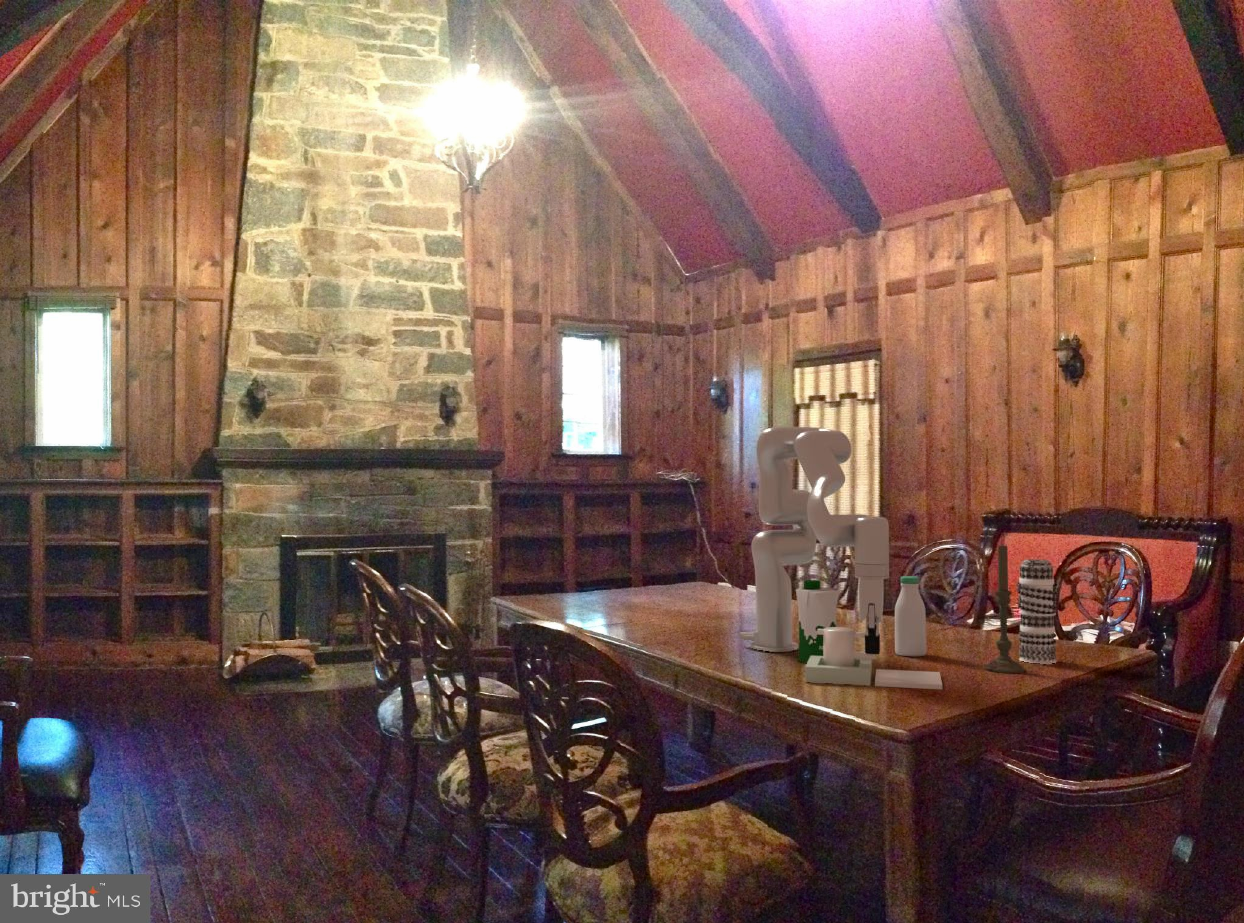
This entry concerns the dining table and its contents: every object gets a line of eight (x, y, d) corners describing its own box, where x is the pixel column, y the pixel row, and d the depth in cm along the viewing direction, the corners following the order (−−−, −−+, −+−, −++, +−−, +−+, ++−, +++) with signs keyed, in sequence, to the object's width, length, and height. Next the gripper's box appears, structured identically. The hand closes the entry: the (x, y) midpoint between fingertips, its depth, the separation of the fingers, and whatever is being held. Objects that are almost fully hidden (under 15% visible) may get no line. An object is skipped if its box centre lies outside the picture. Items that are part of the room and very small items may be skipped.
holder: (805, 682, 213) (805, 666, 213) (810, 670, 226) (810, 655, 226) (870, 685, 209) (870, 669, 209) (871, 673, 222) (871, 658, 222)
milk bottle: (928, 657, 241) (926, 578, 242) (896, 656, 243) (895, 577, 243) (924, 652, 249) (923, 575, 249) (894, 651, 250) (893, 574, 251)
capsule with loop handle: (816, 677, 216) (816, 630, 216) (818, 671, 222) (818, 626, 223) (875, 681, 212) (876, 633, 212) (876, 674, 219) (876, 628, 219)
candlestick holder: (976, 666, 230) (975, 541, 230) (1013, 665, 231) (1011, 541, 231) (994, 673, 221) (993, 544, 221) (1032, 672, 221) (1030, 543, 222)
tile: (874, 685, 209) (874, 681, 209) (876, 673, 222) (876, 669, 222) (942, 689, 205) (942, 684, 205) (939, 676, 218) (939, 672, 218)
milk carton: (820, 658, 242) (819, 578, 242) (844, 664, 234) (843, 582, 234) (792, 661, 238) (791, 580, 238) (816, 667, 230) (815, 584, 230)
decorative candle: (1026, 656, 242) (1025, 557, 243) (1064, 661, 235) (1062, 559, 236) (1011, 661, 236) (1009, 559, 236) (1049, 666, 229) (1047, 561, 230)
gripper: (856, 567, 225) (856, 645, 224) (853, 574, 209) (853, 658, 209) (889, 568, 223) (889, 647, 222) (888, 575, 207) (889, 660, 207)
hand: (872, 652), depth 216 cm, fingers closed on capsule with loop handle
